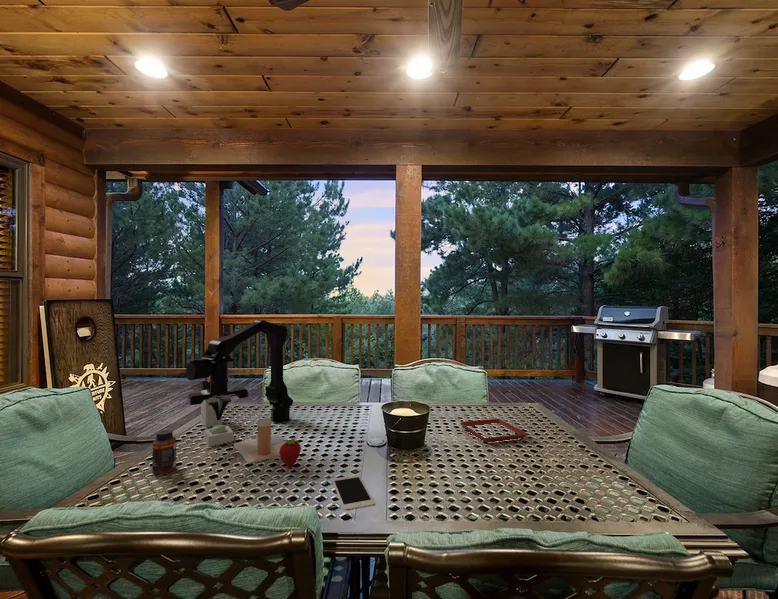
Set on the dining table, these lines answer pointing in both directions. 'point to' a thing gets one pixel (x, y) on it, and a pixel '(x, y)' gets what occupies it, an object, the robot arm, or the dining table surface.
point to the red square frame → (472, 423)
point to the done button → (218, 429)
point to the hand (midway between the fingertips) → (218, 419)
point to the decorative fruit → (290, 452)
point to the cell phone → (352, 492)
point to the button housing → (218, 437)
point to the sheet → (251, 449)
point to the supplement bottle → (164, 452)
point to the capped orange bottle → (264, 436)
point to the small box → (208, 413)
